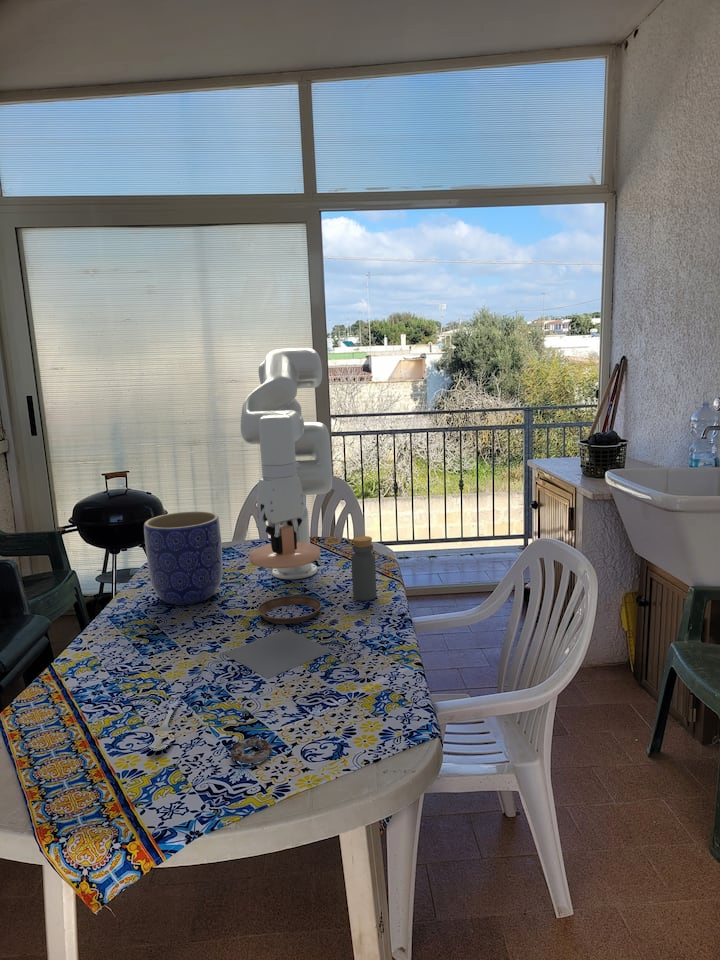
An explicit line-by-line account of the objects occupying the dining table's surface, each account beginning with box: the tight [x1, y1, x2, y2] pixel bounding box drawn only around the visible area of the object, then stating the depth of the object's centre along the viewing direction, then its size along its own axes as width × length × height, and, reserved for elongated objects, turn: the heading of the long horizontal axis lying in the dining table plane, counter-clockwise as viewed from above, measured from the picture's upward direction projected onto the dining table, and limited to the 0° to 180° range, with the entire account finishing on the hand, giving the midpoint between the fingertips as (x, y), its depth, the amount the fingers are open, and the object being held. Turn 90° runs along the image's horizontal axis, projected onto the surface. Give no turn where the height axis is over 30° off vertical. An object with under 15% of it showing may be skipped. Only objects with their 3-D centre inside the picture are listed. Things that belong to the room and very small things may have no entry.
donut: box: [230, 735, 273, 764], centre depth 98 cm, size 8×8×2 cm
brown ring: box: [257, 595, 323, 625], centre depth 152 cm, size 15×15×3 cm
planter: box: [143, 510, 223, 606], centre depth 166 cm, size 18×18×21 cm
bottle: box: [350, 535, 378, 602], centre depth 161 cm, size 6×6×15 cm
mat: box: [222, 629, 335, 680], centre depth 132 cm, size 16×16×1 cm
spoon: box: [150, 711, 174, 752], centre depth 109 cm, size 4×21×2 cm, turn 7°
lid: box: [248, 524, 321, 569], centre depth 147 cm, size 16×16×7 cm
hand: (284, 549), depth 148 cm, fingers closed on lid, 3 cm apart
